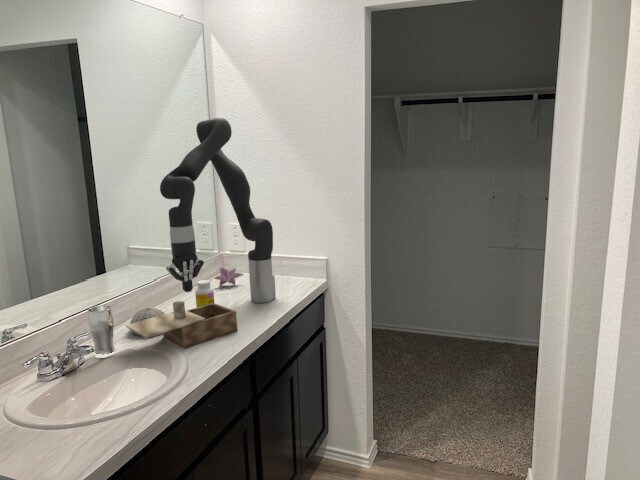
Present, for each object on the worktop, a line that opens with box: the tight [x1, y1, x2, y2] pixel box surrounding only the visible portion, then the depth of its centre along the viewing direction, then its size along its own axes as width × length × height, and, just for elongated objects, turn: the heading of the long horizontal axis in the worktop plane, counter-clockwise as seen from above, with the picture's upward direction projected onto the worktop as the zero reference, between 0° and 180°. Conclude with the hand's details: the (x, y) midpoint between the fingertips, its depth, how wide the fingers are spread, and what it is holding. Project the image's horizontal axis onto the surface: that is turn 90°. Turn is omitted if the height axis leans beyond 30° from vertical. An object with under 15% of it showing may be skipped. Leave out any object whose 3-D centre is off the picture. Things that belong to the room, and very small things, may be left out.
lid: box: [125, 300, 205, 339], centre depth 161 cm, size 20×14×6 cm
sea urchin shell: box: [129, 307, 166, 336], centre depth 176 cm, size 13×14×8 cm
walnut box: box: [162, 302, 238, 350], centre depth 171 cm, size 20×14×7 cm
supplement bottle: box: [194, 279, 215, 308], centre depth 190 cm, size 7×7×13 cm
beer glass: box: [87, 304, 116, 355], centre depth 156 cm, size 7×7×15 cm
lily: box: [213, 267, 244, 290], centre depth 225 cm, size 12×12×10 cm
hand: (188, 291), depth 166 cm, fingers closed
